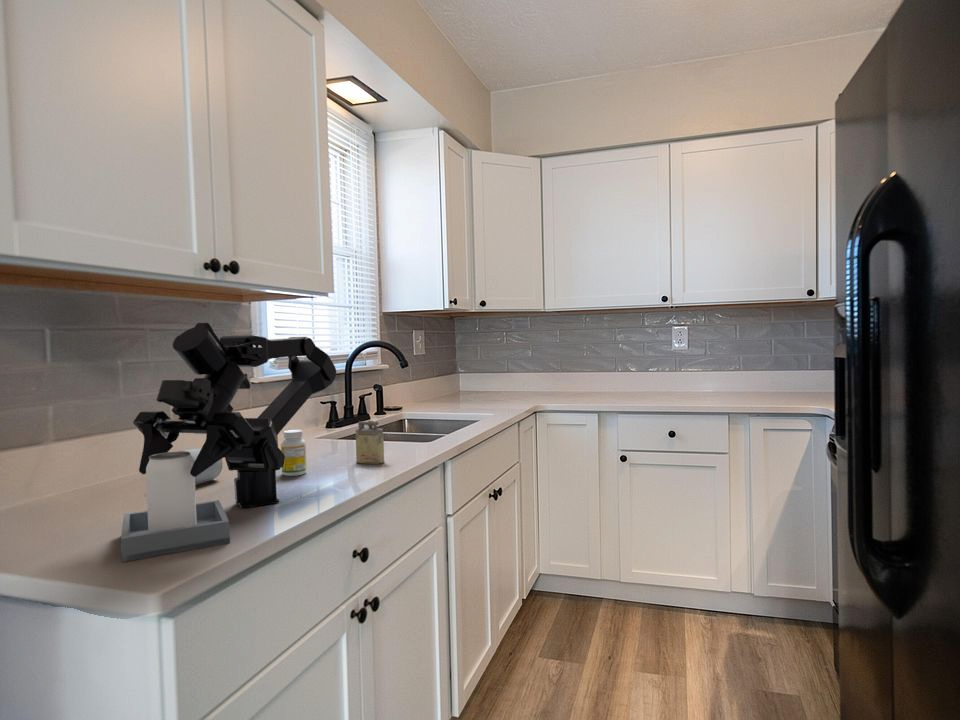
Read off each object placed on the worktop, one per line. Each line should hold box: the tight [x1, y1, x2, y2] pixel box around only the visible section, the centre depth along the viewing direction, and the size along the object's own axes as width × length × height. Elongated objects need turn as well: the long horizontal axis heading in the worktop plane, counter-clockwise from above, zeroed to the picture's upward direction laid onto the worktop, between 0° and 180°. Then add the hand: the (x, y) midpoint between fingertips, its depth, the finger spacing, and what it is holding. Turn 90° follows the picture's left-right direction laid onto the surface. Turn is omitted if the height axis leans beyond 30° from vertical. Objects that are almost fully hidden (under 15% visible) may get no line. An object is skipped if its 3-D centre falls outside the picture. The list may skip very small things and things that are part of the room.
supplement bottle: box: [280, 429, 308, 477], centre depth 130 cm, size 5×5×10 cm
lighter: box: [355, 420, 385, 465], centre depth 140 cm, size 7×4×10 cm, turn 74°
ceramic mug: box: [177, 447, 223, 486], centre depth 124 cm, size 11×8×8 cm
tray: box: [120, 500, 231, 563], centre depth 88 cm, size 14×14×3 cm
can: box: [145, 450, 197, 533], centre depth 88 cm, size 6×6×12 cm
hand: (166, 474), depth 87 cm, fingers open, 9 cm apart
